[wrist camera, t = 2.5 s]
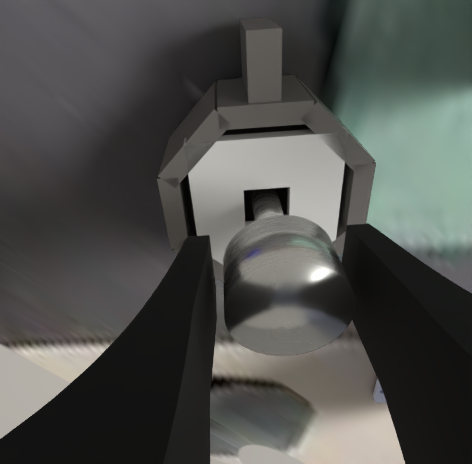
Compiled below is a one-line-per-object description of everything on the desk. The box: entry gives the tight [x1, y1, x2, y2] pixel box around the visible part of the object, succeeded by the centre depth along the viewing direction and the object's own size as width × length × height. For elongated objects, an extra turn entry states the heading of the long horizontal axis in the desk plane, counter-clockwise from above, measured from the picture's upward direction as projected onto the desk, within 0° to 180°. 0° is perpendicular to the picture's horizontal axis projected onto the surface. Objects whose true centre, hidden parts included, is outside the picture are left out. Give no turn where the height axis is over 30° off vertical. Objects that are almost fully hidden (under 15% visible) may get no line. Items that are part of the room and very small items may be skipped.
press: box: [157, 17, 376, 283], centre depth 14 cm, size 9×7×4 cm
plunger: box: [223, 188, 356, 356], centre depth 11 cm, size 3×3×6 cm
